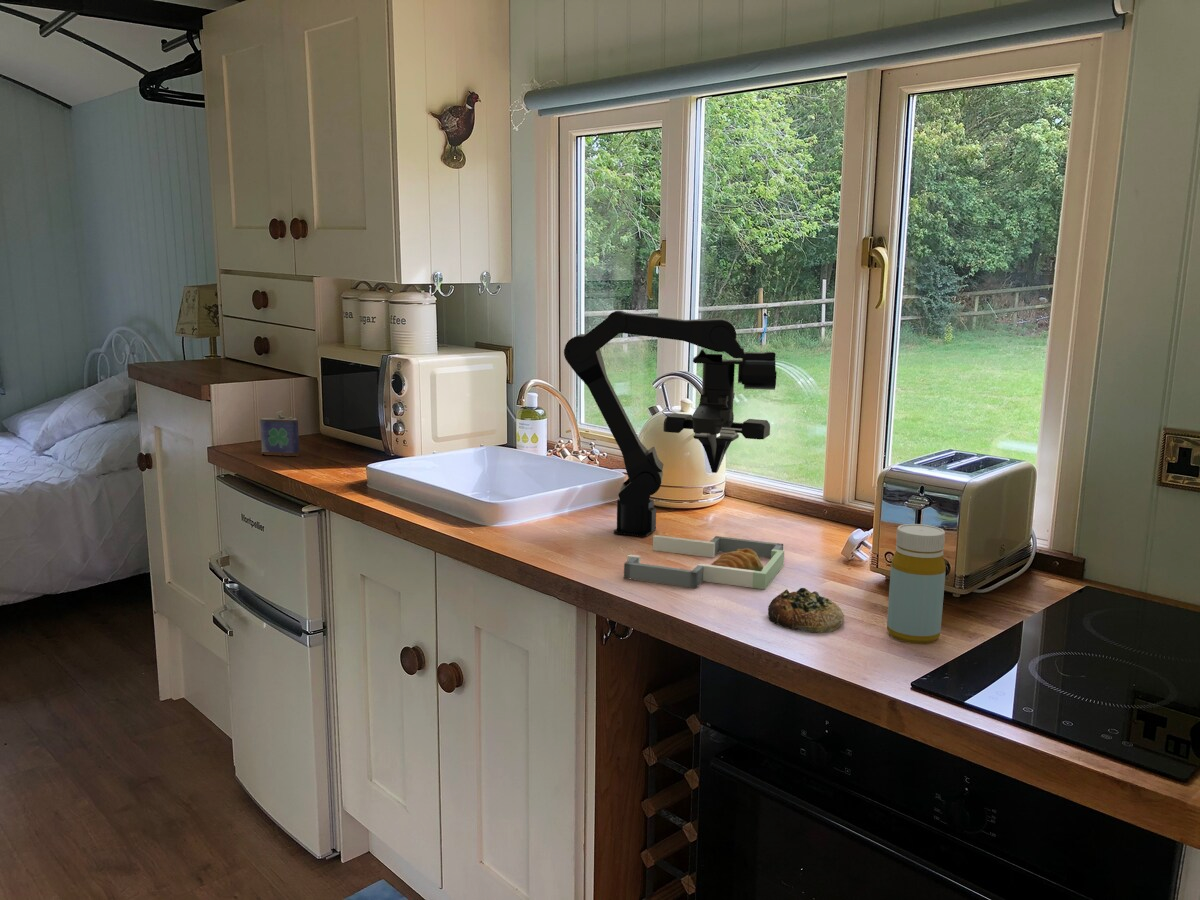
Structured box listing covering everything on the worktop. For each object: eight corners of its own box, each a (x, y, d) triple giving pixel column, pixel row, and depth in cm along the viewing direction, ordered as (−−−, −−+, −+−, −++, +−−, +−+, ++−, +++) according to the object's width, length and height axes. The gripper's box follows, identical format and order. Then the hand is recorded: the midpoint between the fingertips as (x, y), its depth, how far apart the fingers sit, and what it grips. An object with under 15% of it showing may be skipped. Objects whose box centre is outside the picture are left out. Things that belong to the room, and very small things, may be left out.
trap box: (618, 577, 159) (618, 562, 158) (661, 543, 179) (662, 529, 178) (759, 597, 150) (759, 581, 150) (788, 558, 170) (789, 544, 170)
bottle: (878, 626, 139) (886, 523, 136) (927, 626, 139) (935, 522, 136) (897, 645, 132) (905, 537, 129) (948, 644, 132) (957, 536, 130)
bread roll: (751, 611, 144) (758, 578, 143) (814, 611, 149) (820, 580, 148) (794, 640, 134) (801, 605, 133) (860, 640, 139) (867, 606, 138)
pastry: (731, 586, 156) (732, 563, 155) (697, 577, 161) (698, 554, 160) (765, 573, 163) (766, 551, 162) (732, 565, 167) (733, 543, 167)
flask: (260, 456, 253) (258, 411, 251) (265, 453, 256) (263, 409, 254) (297, 457, 252) (295, 412, 250) (302, 455, 255) (300, 410, 253)
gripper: (654, 390, 175) (652, 476, 178) (758, 396, 169) (754, 486, 171) (674, 383, 186) (671, 464, 188) (772, 389, 179) (768, 473, 182)
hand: (714, 472), depth 182 cm, fingers closed
